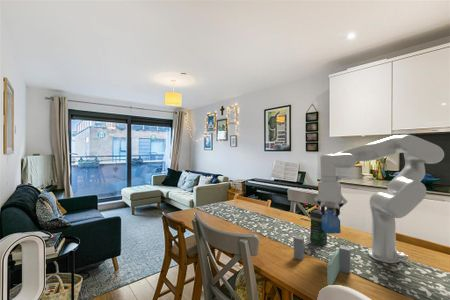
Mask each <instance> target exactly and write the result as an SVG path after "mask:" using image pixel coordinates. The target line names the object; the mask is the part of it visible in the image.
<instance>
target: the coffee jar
mask: <svg viewBox="0 0 450 300" xmlns="http://www.w3.org/2000/svg"><path fill="white" fill-rule="evenodd" d="M325 213H327V210H325ZM309 215H310V216H309V218H310V233H309V241H310V243H311V244H313V245H315V246H316V245H317V246H324V245H326V244H327V243H328V233H326V232H325V231H324V230H322V216H323V215H322V213H321V208H318V209H315V210H311V211H310V214H309Z"/></svg>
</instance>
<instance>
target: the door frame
mask: <svg viewBox="0 0 450 300" xmlns="http://www.w3.org/2000/svg"><path fill="white" fill-rule="evenodd" d="M338 250H339V272H343V273H346V274H351V266H352V265H351V247H349V246H345V245H344V246H343V245H340V246H339V249H338ZM293 258H294V259H297V260H300V261H303V260H304V258H305V237H302V236H299V235H294V237H293Z"/></svg>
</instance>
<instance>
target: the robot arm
mask: <svg viewBox="0 0 450 300" xmlns="http://www.w3.org/2000/svg"><path fill="white" fill-rule="evenodd" d="M395 154H396V155H397V154H403V157H404V167H403V169H401V171H400V172H399V173H398V174H397V175H395V177H393V178H392V179H391V180H390V182H388V184H387V191H388V192H389V193H386V192H381V191H380V192H378V191H377V192H374V193H373V194H372V195H371V196H370V198H369V208H370V213H371V248H370V249H369V250H368V252H367V253H368V254H367V255H369V257H370V258H371V259H374V260H376V261H379V262H381V263H382V262H383V263H386V264H397V263H400V261H401V259H404V260H409V255H408V254H405V252H399V251H398V250H397V248H396V247H397V242H396V241H397V240H396V239H397V237H396V231H397V230H396V228H397V227H396V226H397V225H396V219H402V218H405V217H406V216H407V215H409V214H410V213H411V212H412V211H413V210H414V209H416V208H417V206H418V205H419V204H420V203H422V202H423V200H424V199H425V198H426V196H427V187H426V186H425V184H424V183H422V182H421V181H422V180H424V178H425V176H426V167H425V164H438V163H440V162H441V161H442V160H443V159H444V158H445V152H444V150H443V149H442V148H441V146H439V145H437V144H435V143H433V142H430V141H428V140H426V139H423V138H421V137H418V136H416V135H413V134H412V135H411V134H400V135H392V136H389V137H385V138H382V139H380V140H376V141H372V142H370V143H367V144H363V145H359V146H356V147H351V148H349V149H344V150H342V151H339V152H336V153H334V154H333V153H329V154H327V153H324V154H321V155H320V159H319V160H320V162H319V163H320V164H319V165H320V181H319V184H318V185H319V186H318V194H316V196H315V197H313V200H314V201H315V202H316V203H317V204H318V205H319V207H320V209H321V213H322V215H324V213H325V211H326V208H325V207H326V206H325V203H334V204H335V207H336V208H335V214H336V217H338V218H339V216H340V215H341V208H342V207H343V206H344V205H346V204H347V203H348V200H347V199H346V198H345V197H344V196H343V193H342V187H341V186H342V185H341V183H340V181H341V179H342V176H339V175H338V169H342V170H343V169H345V170H346V169H347V170H349V169H352V168H355V166H356V165H357V162H369V161H377V160H380V159H384V158H386V157H389V156H393V155H395ZM341 201H342V202H341Z"/></svg>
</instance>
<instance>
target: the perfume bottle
mask: <svg viewBox="0 0 450 300" xmlns="http://www.w3.org/2000/svg"><path fill="white" fill-rule="evenodd" d="M326 212H327V213H324V215H323V216H322V230H324V231H325V232H326V233H327V235H330V234H331V235H332V234H341V231H342V230H341V219H340V218H339V216H338V217H336V213H335V209H334V206H331V205H330V206H326Z"/></svg>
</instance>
